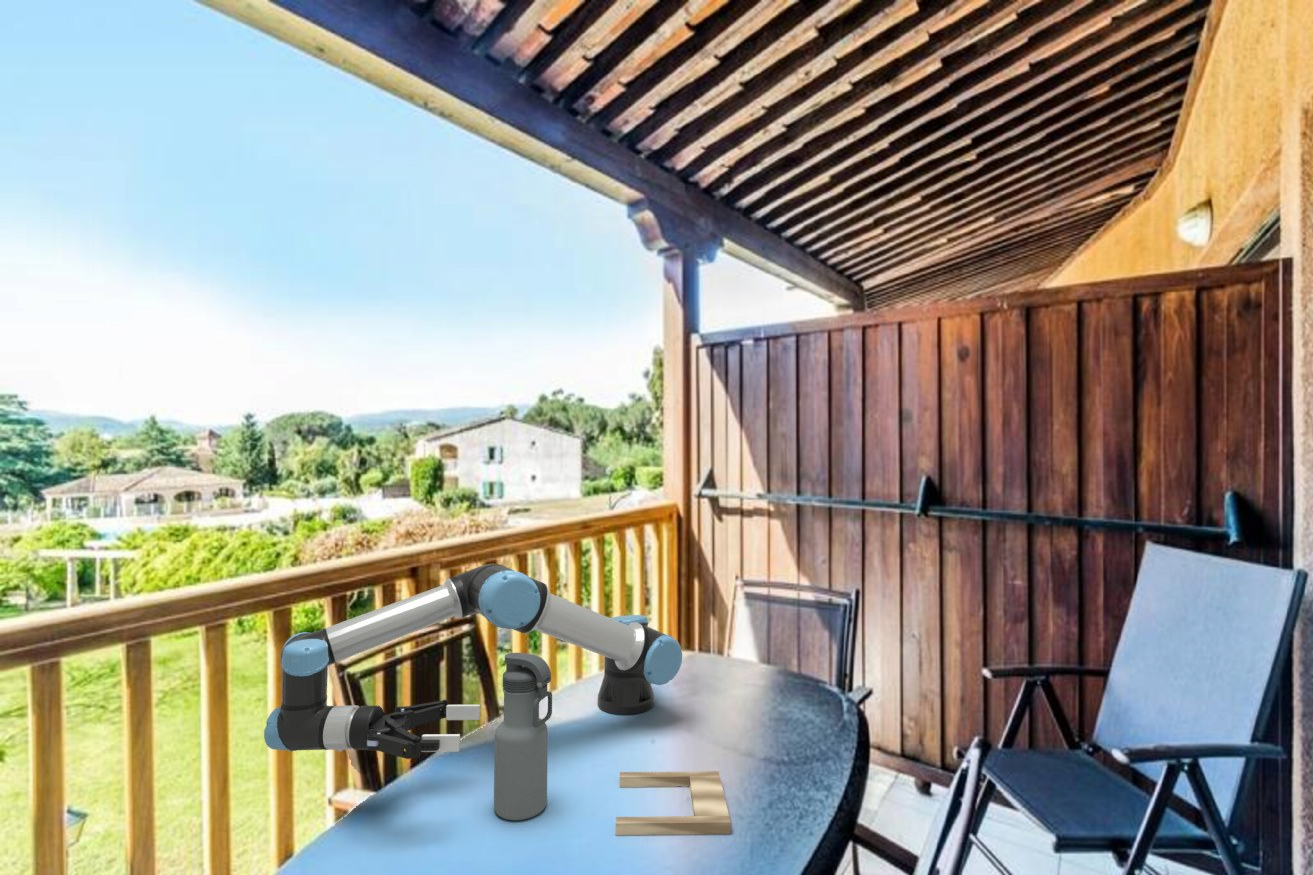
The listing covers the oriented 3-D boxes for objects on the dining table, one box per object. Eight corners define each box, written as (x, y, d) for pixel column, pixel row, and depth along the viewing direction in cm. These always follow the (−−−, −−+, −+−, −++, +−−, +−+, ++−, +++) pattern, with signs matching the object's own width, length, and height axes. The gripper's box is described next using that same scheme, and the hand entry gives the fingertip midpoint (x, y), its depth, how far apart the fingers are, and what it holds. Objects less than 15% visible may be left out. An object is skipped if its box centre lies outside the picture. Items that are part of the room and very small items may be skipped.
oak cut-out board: (619, 782, 126) (619, 772, 127) (718, 781, 127) (718, 771, 127) (615, 835, 108) (615, 823, 109) (730, 833, 109) (730, 822, 109)
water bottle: (558, 799, 120) (559, 651, 121) (532, 827, 111) (533, 667, 112) (512, 790, 123) (513, 646, 125) (483, 816, 114) (484, 661, 115)
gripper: (383, 720, 129) (486, 719, 130) (321, 781, 105) (449, 780, 105) (384, 683, 130) (487, 682, 130) (322, 736, 105) (449, 735, 105)
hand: (470, 726), depth 118 cm, fingers open, 13 cm apart
